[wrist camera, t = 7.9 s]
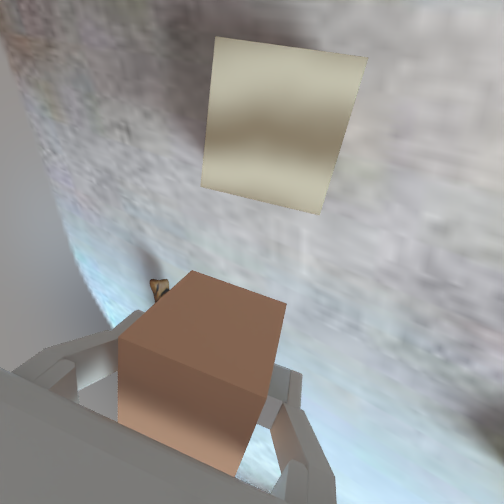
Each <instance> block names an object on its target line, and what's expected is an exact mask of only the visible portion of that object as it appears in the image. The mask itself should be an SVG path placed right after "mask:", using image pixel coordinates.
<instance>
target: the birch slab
mask: <svg viewBox="0 0 504 504" xmlns="http://www.w3.org/2000/svg"><path fill="white" fill-rule="evenodd" d="M367 61H368V57H361V56H353V55H346V54H339V53H332V52H325V51H317V50H310V49H303V48H296V47H289V46H281V45H274V44H267V43H260V42H252V41H245V40H238V39H231V38H224V37H216V36H215V45H214V55H213V65H212V75H211V85H210V95H209V105H208V116H207V126H206V136H205V146H204V156H203V166H202V176H201V186H200V187H204V188H208V189H212V190H216V191H220V192H224V193H229V194H233V195H237V196H241V197H245V198H249V199H254V200H258V201H262V202H266V203H270V204H274V205H278V206H283V207H287V208H291V209H295V210H299V211H303V212H308V213H312V214H316V215H320V212H321V209H322V206H323V203H324V199H325V196H326V193H327V190H328V187H329V183H330V180H331V177H332V174H333V170H334V167H335V164H336V161H337V158H338V154H339V151H340V148H341V145H342V141H343V138H344V135H345V132H346V129H347V125H348V122H349V119H350V116H351V112H352V109H353V106H354V103H355V99H356V96H357V93H358V90H359V87H360V83H361V80H362V77H363V74H364V70H365V67H366V64H367Z"/></svg>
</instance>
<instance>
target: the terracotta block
mask: <svg viewBox="0 0 504 504" xmlns="http://www.w3.org/2000/svg"><path fill="white" fill-rule="evenodd" d="M286 305H287V304H286V303H283V302H280V301H278V300H275V299H272V298H269V297H266V296H263V295H261V294H258V293H255V292H252V291H249V290H247V289H244V288H241V287H238V286H235V285H232V284H230V283H227V282H224V281H221V280H218V279H215V278H213V277H210V276H207V275H204V274H201V273H199V272H196V271H193V270H192V271H190V272H189V273H188V274H187V275H186V276H185V277H184V278H183V279H182V280H181V281H179V282H178V283H177V284H176V285H175V286H174V287H173V288H172V289H171V290H169V291H168V292H167V293H166V294H165V295H164V296H163V297H162V298H161V299H160V300H158V301H157V302H156V303H155V304H154V305H153V306H152V307H151V308H150V309H148V310H147V311H146V312H145V313H144V314H143V315H142V316H141V317H140V318H138V319H137V320H136V321H135V322H134V323H133V324H132V325H131V326H130V327H129V328H127V329H126V330H125V331H124V332H123V333H122V334H121V335H120V336H119V337H118V423H120V424H122V425H124V426H126V427H129V428H131V429H133V430H135V431H137V432H139V433H141V434H144V435H146V436H148V437H150V438H152V439H154V440H156V441H158V442H161V443H163V444H165V445H167V446H169V447H171V448H173V449H176V450H178V451H180V452H182V453H184V454H186V455H188V456H190V457H193V458H195V459H197V460H199V461H201V462H203V463H205V464H207V465H210V466H212V467H214V468H216V469H218V470H220V471H222V472H224V473H227V474H229V475H231V476H233V477H235V475H236V472H237V470H238V467H239V465H240V462H241V460H242V458H243V455H244V453H245V450H246V448H247V445H248V443H249V441H250V438H251V436H252V433H253V431H254V428H255V426H256V424H257V421H258V419H259V416H260V414H261V411H262V409H263V407H264V404H265V402H266V399H267V395H268V390H269V386H270V381H271V376H272V371H273V367H274V362H275V357H276V352H277V347H278V343H279V338H280V333H281V328H282V324H283V319H284V314H285V309H286Z"/></svg>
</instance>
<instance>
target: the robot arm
mask: <svg viewBox="0 0 504 504" xmlns="http://www.w3.org/2000/svg"><path fill="white" fill-rule="evenodd" d="M144 313H145V312H143V311H140V310H136V311H134V312H133V313H132V314H130V315H129V316H128V317H127V318H126V319H124V320H123V321H122V322H121V323H120V324H118V325H117V326H116V327H115V328H114V329H112V330H111V331H109V330H106V331H103V332H99V333H95V334H92V335H89V336H85V337H82V338H78V339H75V340H72V341H69V342H65V343H61V344H58V345H55V346H51V347H48V348H45V349H43V350H42V351H41V352H39V353H38V354H36V355H35V356H33V357H32V358H31V359H29V360H28V361H26V362H25V363H23V364H22V365H20V366H19V367H18V368H16V369H15V370H13V371H12V372H9V371H7V370H5V369H3V368H1V367H0V504H337V503H336V485H335V476H334V474H333V472H332V470H331V467H330V465H329V463H328V461H327V459H326V457H325V455H324V453H323V450H322V448H321V446H320V444H319V442H318V440H317V438H316V436H315V433H314V431H313V429H312V427H311V425H310V423H309V421H308V419H307V417H306V414H305V412H304V411H303V410H301V409H300V407H301V391H302V374H301V373H298V372H296V371H293V370H290V369H288V368H286V367H283V366H280V365H278V364H275V363H274V367H273V371H272V376H271V381H270V386H269V390H268V395H267V399H266V402H265V404H264V407H263V409H262V411H261V414H260V416H259V419H258V421H257V424H259V425H261V426H263V427H265V428H268V429H270V432H271V436H272V440H273V444H274V448H275V451H276V455H277V459H278V463H279V467H280V470H281V476H280V478H279V480H278V481H277V483H276V485H275V486H274V488H273V490H272V492H271V493H270V494H269V493H267V492H265V491H263V490H261V489H259V488H256V487H254V486H252V485H250V484H248V483H246V482H244V481H241V480H239V479H237V478H235V477H233V476H231V475H229V474H227V473H224V472H222V471H220V470H218V469H216V468H214V467H212V466H210V465H207V464H205V463H203V462H201V461H199V460H197V459H195V458H193V457H190V456H188V455H186V454H184V453H182V452H180V451H178V450H176V449H173V448H171V447H169V446H167V445H165V444H163V443H161V442H158V441H156V440H154V439H152V438H150V437H148V436H146V435H144V434H141V433H139V432H137V431H135V430H133V429H131V428H129V427H126V426H124V425H122V424H120V423H118V422H116V421H114V420H111V419H109V418H107V417H105V416H103V415H101V414H99V413H96V412H94V411H92V410H90V409H88V408H86V407H84V406H82V405H79V395H78V391H79V390H81V389H82V388H85V387H87V386H88V385H90V384H92V383H94V382H96V381H98V380H100V379H102V378H104V377H106V376H108V375H110V374H112V373H114V372H116V371H118V337H119V336H120V335H121V334H122V333H123V332H124V331H125V330H126V329H127V328H129V327H130V326H131V325H132V324H133V323H134V322H135V321H136V320H137V319H138V318H140V317H141V316H142V315H143V314H144Z"/></svg>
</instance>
